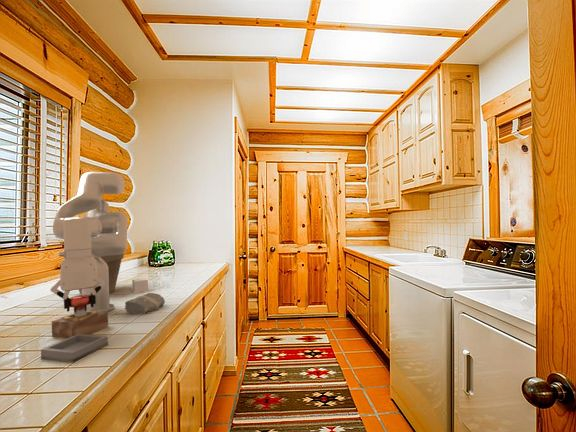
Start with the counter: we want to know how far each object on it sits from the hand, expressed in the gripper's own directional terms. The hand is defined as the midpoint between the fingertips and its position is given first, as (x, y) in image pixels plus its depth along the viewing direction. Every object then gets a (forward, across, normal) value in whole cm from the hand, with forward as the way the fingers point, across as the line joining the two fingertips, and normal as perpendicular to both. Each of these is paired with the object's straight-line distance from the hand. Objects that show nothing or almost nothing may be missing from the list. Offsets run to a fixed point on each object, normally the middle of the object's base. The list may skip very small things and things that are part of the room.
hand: (80, 307), depth 102 cm
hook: (+8, 0, 0) cm, 8 cm away
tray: (+8, -2, -18) cm, 20 cm away
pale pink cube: (+8, +26, +50) cm, 57 cm away
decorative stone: (+8, +22, +11) cm, 26 cm away
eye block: (+8, 0, 0) cm, 8 cm away
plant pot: (+8, +8, +60) cm, 61 cm away
